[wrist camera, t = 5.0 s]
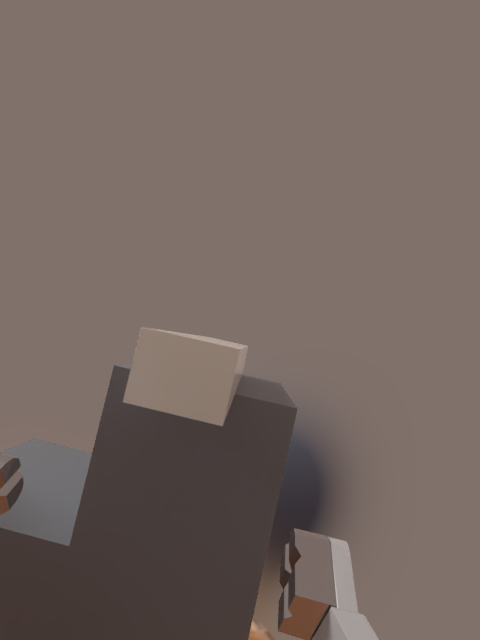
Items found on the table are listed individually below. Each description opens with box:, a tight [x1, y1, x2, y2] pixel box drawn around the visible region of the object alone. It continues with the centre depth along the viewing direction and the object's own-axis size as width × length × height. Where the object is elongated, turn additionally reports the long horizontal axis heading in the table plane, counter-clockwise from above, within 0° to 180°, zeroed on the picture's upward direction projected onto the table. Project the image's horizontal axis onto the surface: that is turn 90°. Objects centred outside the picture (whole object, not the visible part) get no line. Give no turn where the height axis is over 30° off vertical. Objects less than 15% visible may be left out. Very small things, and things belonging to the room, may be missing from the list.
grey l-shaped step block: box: [0, 363, 297, 640], centre depth 28 cm, size 24×14×26 cm, turn 88°
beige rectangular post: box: [123, 327, 248, 426], centre depth 24 cm, size 4×21×3 cm, turn 177°
